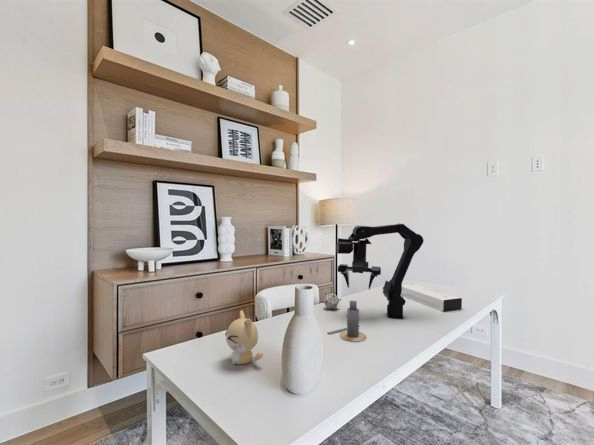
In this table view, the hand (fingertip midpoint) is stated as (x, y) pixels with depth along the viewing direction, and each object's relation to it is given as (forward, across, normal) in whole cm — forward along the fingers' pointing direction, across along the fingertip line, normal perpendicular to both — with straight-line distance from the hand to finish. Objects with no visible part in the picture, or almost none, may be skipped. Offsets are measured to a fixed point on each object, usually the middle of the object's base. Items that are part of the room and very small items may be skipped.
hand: (358, 288), depth 142 cm
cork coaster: (+13, 0, -23) cm, 27 cm away
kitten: (+14, -31, -53) cm, 63 cm away
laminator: (+13, +32, +36) cm, 50 cm away
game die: (+14, -14, +9) cm, 21 cm away
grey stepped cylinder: (+13, 0, -23) cm, 26 cm away
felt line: (+13, -4, -17) cm, 22 cm away
